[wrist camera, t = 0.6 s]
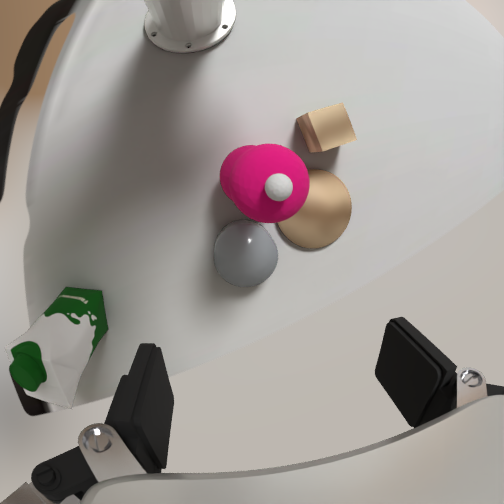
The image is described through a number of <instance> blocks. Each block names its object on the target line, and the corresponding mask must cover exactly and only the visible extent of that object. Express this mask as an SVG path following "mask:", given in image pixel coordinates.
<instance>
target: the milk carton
mask: <svg viewBox="0 0 504 504" xmlns="http://www.w3.org/2000/svg"><path fill="white" fill-rule="evenodd" d="M107 330H108V325H107V319H106V314H105V308H104V301H103V294H102V291H100V290H90V289H81V288H72V287H65V289H64V290H63V291H62V292H61V294H60V295H59V296H58V297H57V299H56V300H55V301H54V302H53V303H52V304H51V306H50V307H49V308H48V309H47V310H46V311H45V312H44V313H43V314H42V315H41V316H40V317H39V318H38V319H37V321H36V322H35V323H34V324H33V325H32V326H31V327H30V328H29V329H28V331H27V332H25V333H24V334H23V335H21V336H20V337H19V338H17V339H16V340H14V341H13V342H11V343H10V344H8V345H7V346H6V347H5V351H6V353H7V356H8V358H9V360H10V362H11V365H10V373H11V375H12V377H13V378H14V379H15V381H16V382H17V383H18V384H19V385H20V386H21V387H23V388H24V390H25V392H26V394H27V395H29V396H32V397H34V398H37V399H40V400H43V401H46V402H49V403H52V404H56V405H59V406H62V407H66V408H69V409H72V405H73V401H74V397H75V393H76V390H77V386H78V383H79V379H80V377H81V375H82V373H83V371H84V369H85V367H86V365H87V363H88V361H89V359H90V357H91V355H92V353H93V351H94V350H95V348H96V346H97V344H98V342H99V341H100V340H101V338H102V337H103V335H104V334H105V333H106V331H107Z"/></svg>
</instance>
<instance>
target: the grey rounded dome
mask: <svg viewBox="0 0 504 504" xmlns="http://www.w3.org/2000/svg"><path fill="white" fill-rule="evenodd" d="M277 261H278V250H277V246H276V244H275V242H274V240H273V239H272V237H271V236H270V234H269V233H268V232H267V230H266V229H265V228H264V227H263V226H262V225H260V224H258V223H257V222H254V221H251V220H238V221H234V222H232V223H230V224H228V225H226V226H225V227H224V228H223V229H222V230H221V231H220V233H219V234H218V236H217V238H216V241H215V246H214V262H215V266H216V269H217V271H218V273H219V274H220V276H221V277H222V278H223V279H224V280H225V281H227V282H228V283H230V284H232V285H235V286H239V287H251V286H255V285H258V284H260V283H262V282H264V281H265V280H266V279H267V278H269V277H270V275H271V274H272V273H273V271H274V270H275V268H276V265H277Z"/></svg>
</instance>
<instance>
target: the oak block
mask: <svg viewBox="0 0 504 504" xmlns="http://www.w3.org/2000/svg"><path fill="white" fill-rule="evenodd" d="M296 120H297V122H298V124H299V127H300V129H301V132H302V134H303V137H304V139H305V142H306V144H307V147H308V150H309V152H310V153H311V152H323V151H326V150H329V149H331V148H334V147H337V146H340V145H343V144H346V143H349V142H352V141H355V140H357V139H356V136H355V133H354V130H353V128H352V125H351V122H350V120H349V117H348V114H347V112H346V109H345V107H344V104H343V103H340V104H336V105H332V106H329V107H325V108H322V109H318V110H315V111H312V112H308V113H306V114H304V115H302V116H300V117H298V118H297V119H296Z"/></svg>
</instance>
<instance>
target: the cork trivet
mask: <svg viewBox="0 0 504 504" xmlns="http://www.w3.org/2000/svg"><path fill="white" fill-rule="evenodd" d="M307 171H308V175H309V179H310V188H309V193H308V196H307V199H306V201H305V203H304V205H303V206H302V208H301V209H300V210H299V211H298V212H297V213H296V214H295V215H293V216H292V217H290V218H289V219H287V220H284V221H281V222H277V223H278V225H279V227H280V229H281V231H282V232H283V234H284V235H285V236H286V237H287V238H288V239H289V240H290V241H292V242H293V243H295V244H296V245H299V246H301V247H305V248H320V247H324V246H326V245H329V244H331V243H332V242H334V241H335V240H336V239H338V238H339V237H340V236H341V234H342V233H343V232H344V230H345V229H346V227H347V225H348V223H349V220H350V216H351V209H352V206H351V198H350V195H349V192H348V190H347V188H346V186H345V185H344V183H343V182H342V181H341V180H340V179H339V178H338V177H337V176H335V175H334V174H332V173H330V172H327V171H324V170H317V169H310V170H307Z"/></svg>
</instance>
